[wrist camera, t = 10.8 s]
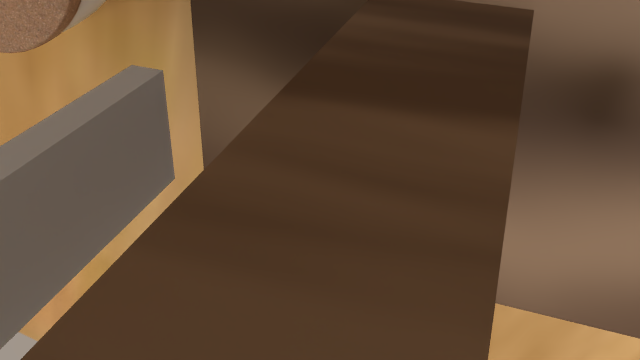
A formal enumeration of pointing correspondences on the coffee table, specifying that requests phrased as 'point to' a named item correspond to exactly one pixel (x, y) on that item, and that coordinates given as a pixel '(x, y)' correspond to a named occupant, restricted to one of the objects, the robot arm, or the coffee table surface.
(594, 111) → the cover
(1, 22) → the lidded jar
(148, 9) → the coffee table surface
